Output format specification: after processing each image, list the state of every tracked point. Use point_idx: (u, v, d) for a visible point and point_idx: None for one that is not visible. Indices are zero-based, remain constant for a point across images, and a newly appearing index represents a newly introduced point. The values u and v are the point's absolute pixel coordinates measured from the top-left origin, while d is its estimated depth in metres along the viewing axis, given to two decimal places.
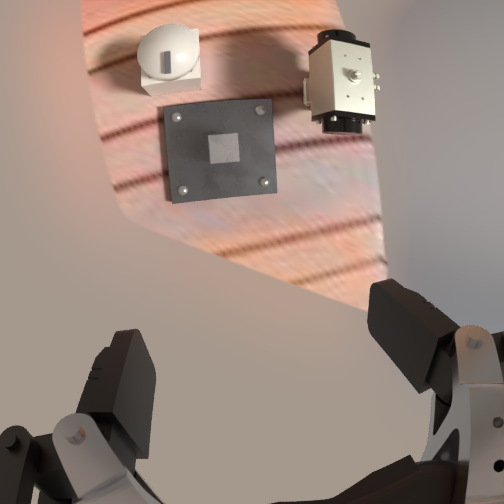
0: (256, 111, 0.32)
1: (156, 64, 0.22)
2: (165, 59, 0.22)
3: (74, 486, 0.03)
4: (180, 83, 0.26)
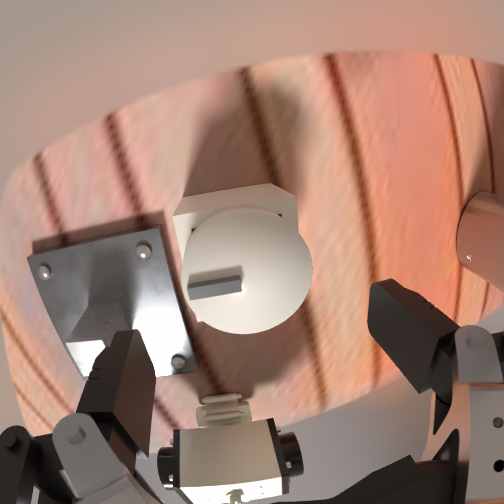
0: (174, 358, 0.22)
1: (210, 262, 0.13)
2: (219, 286, 0.13)
3: (74, 486, 0.03)
4: None
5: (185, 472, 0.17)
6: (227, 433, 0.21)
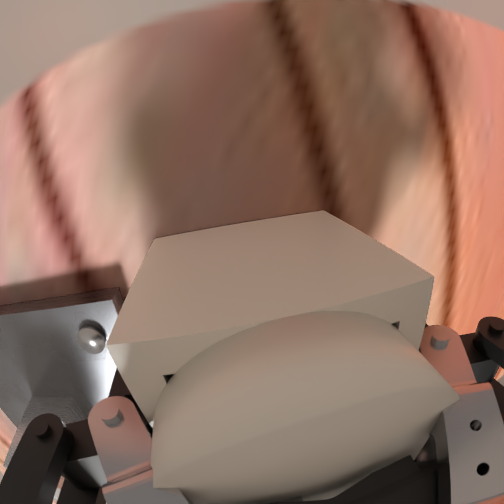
0: None
1: (228, 496, 0.03)
2: None
3: (105, 469, 0.03)
4: None
5: None
6: None
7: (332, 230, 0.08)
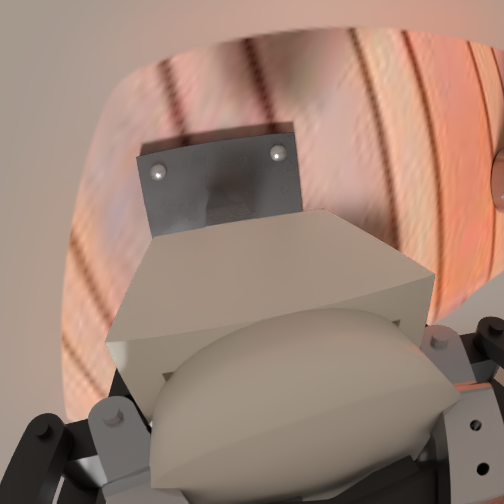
0: None
1: (227, 495, 0.03)
2: None
3: (105, 469, 0.03)
4: None
5: None
6: None
7: (332, 228, 0.08)
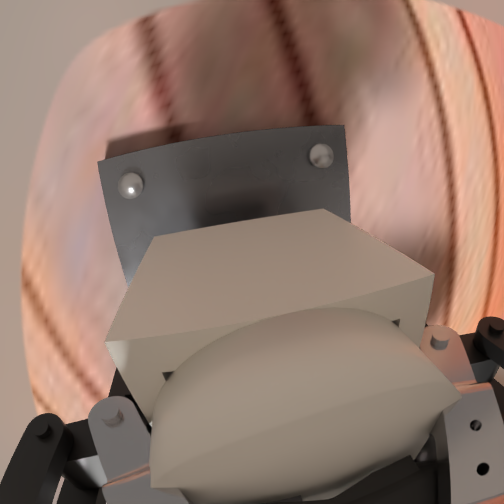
0: None
1: (227, 495, 0.03)
2: None
3: (104, 469, 0.03)
4: None
5: None
6: None
7: (332, 228, 0.08)
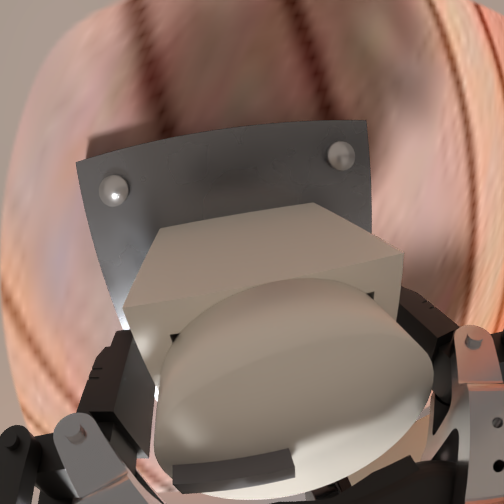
0: None
1: (223, 440, 0.04)
2: (247, 479, 0.04)
3: (74, 486, 0.03)
4: None
5: None
6: (403, 440, 0.12)
7: (318, 218, 0.09)
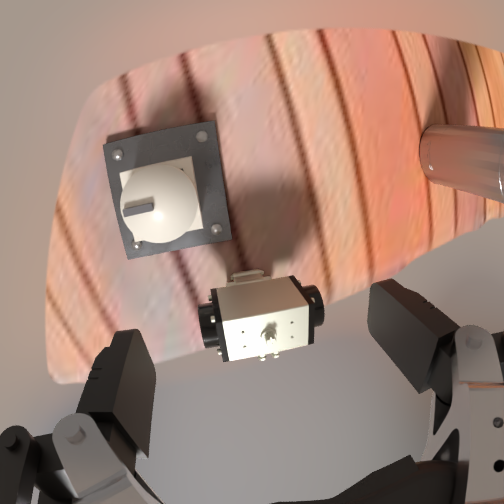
0: (214, 225, 0.31)
1: (136, 195, 0.21)
2: (140, 207, 0.21)
3: (74, 486, 0.03)
4: None
5: (225, 311, 0.25)
6: (257, 285, 0.29)
7: (184, 157, 0.26)
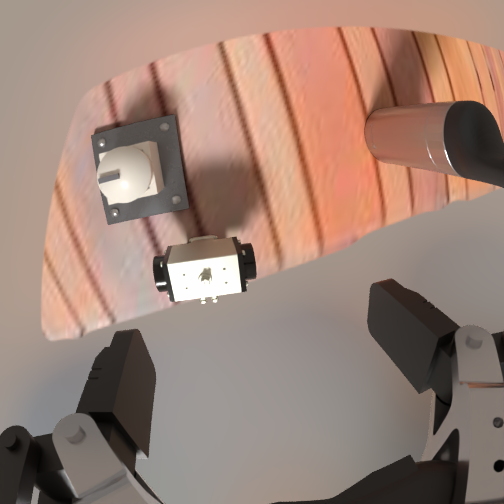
0: (174, 196, 0.37)
1: (107, 168, 0.27)
2: (109, 176, 0.27)
3: (74, 486, 0.03)
4: None
5: (172, 258, 0.31)
6: (204, 243, 0.35)
7: None
